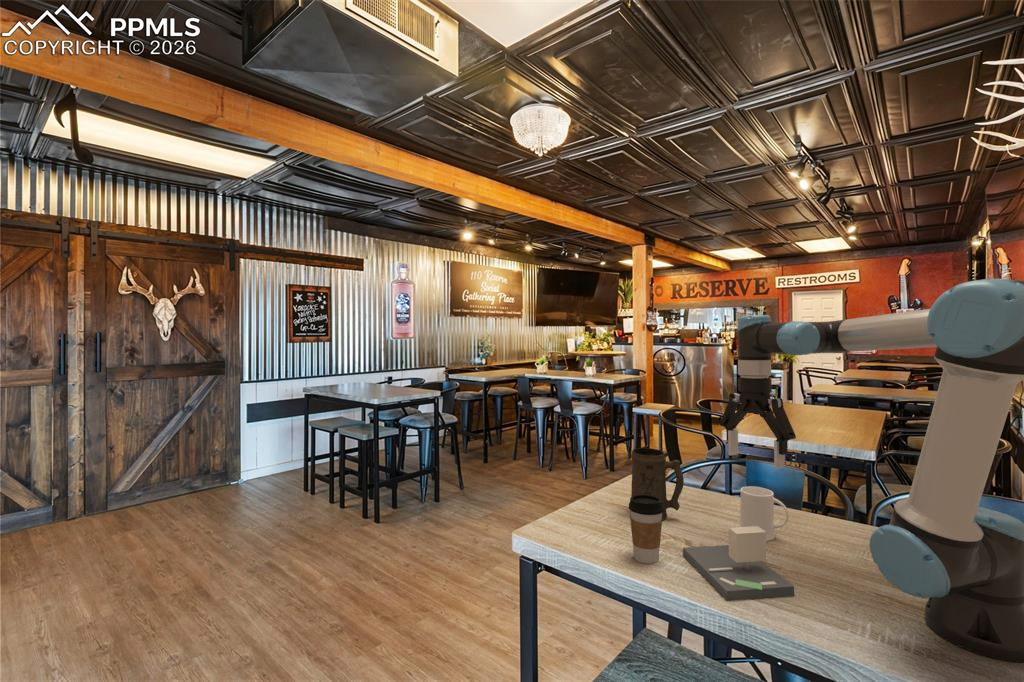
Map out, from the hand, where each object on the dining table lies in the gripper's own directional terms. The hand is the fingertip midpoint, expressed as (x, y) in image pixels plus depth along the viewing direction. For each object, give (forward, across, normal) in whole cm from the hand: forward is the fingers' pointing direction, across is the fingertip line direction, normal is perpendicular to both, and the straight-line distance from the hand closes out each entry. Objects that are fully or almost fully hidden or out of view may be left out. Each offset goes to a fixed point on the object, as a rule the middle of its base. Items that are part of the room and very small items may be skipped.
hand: (755, 460), depth 122 cm
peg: (+21, -8, +15) cm, 27 cm away
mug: (+23, +6, -9) cm, 26 cm away
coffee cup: (+23, +9, +27) cm, 37 cm away
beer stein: (+23, +29, +7) cm, 37 cm away
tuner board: (+23, -6, +14) cm, 28 cm away
